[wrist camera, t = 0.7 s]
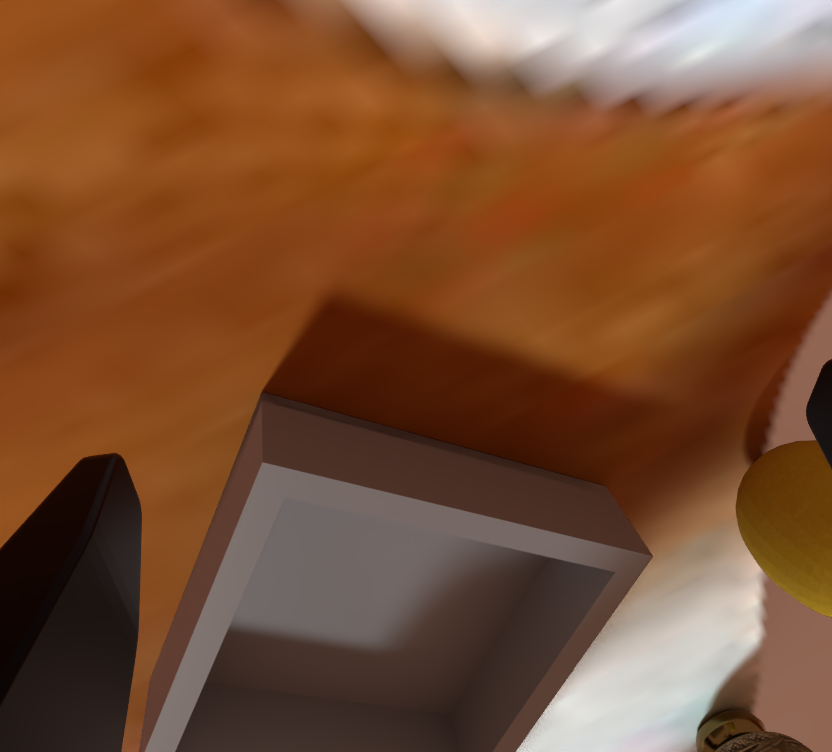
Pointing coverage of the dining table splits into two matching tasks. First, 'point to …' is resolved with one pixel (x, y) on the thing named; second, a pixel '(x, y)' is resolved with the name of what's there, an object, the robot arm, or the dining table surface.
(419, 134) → the dining table surface
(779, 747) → the cup
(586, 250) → the dining table surface
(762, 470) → the lemon
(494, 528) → the bin
